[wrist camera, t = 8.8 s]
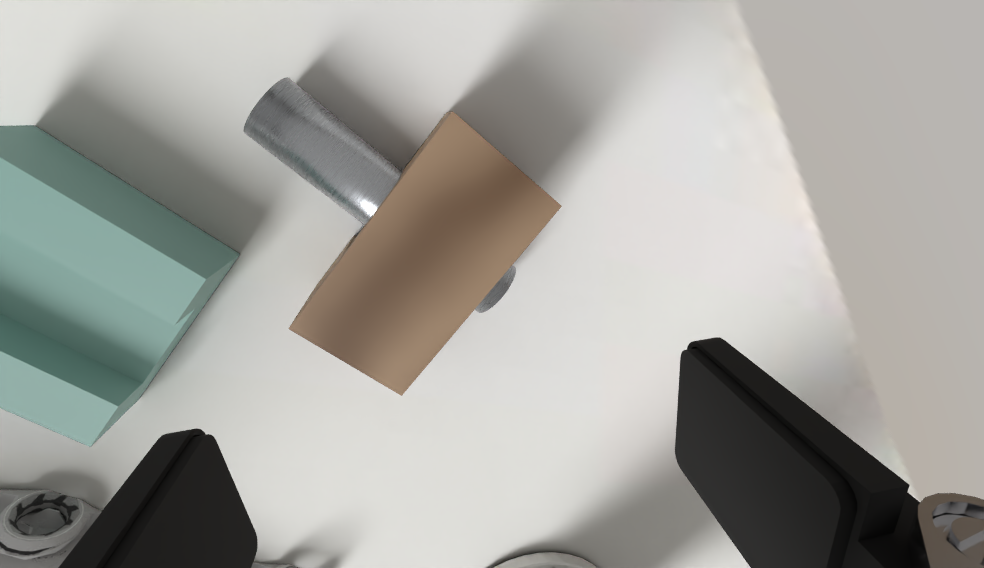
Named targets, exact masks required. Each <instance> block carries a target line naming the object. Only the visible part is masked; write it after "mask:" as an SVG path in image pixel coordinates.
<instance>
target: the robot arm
mask: <svg viewBox="0 0 984 568" xmlns="http://www.w3.org/2000/svg"><path fill="white" fill-rule="evenodd" d="M675 455H676V459H677V462H678V464H679V467H680V468H681V470H682V471H683V473H684V474H685V476H686V477H687V478H688V480H689V481H690V483H691V484H692V486H693V487H694V488H695V490H696V491H697V493H698V494H699V495H700V497H701V498H702V500H703V501H704V502H705V504H706V505H707V507H708V508H709V509H710V511H711V512H712V514H713V515H714V516H715V518H716V519H717V521H718V522H719V524H720V525H721V526H722V528H723V529H724V531H725V532H726V533H727V535H728V536H729V538H730V539H731V540H732V542H733V543H734V545H735V546H736V547H737V549H738V550H739V552H740V553H741V554H742V556H743V557H744V559H745V560H746V562H747V563H748V564H749V566H750V567H751V568H984V500H983V499H980V498H976V497H972V496H967V495H961V494H956V493H938V494H934V495H931V496H928V497H925V498H924V499H923V500H922V501H921V503H920V502H919V501H917V500H916V499H915V498H914V497H912V496H911V495H910V494H909V493H907V491H908V488H909V484H908V483H906V482H905V481H904V480H902V479H901V478H900V477H899V476H897V475H896V474H895V473H893V472H892V471H891V470H890V469H888V468H887V467H886V466H885V465H883V464H882V463H881V462H879V461H878V460H877V459H876V458H874V457H873V456H872V455H870V454H869V453H868V452H867V451H865V450H864V449H863V448H862V447H860V446H859V445H858V444H856V443H855V442H854V441H853V440H851V439H850V438H849V437H847V436H846V435H845V434H844V433H842V432H841V431H840V430H838V429H837V428H836V427H835V426H833V425H832V424H831V423H830V422H828V421H827V420H826V419H824V418H823V417H822V416H821V415H819V414H818V413H817V412H815V411H814V410H813V409H812V408H810V407H809V406H808V405H807V404H805V403H804V402H803V401H801V400H800V399H799V398H798V397H796V396H795V395H794V394H792V393H791V392H790V391H789V390H787V389H786V388H785V387H784V386H782V385H781V384H780V383H778V382H777V381H776V380H775V379H773V378H772V377H771V376H769V375H768V374H767V373H766V372H764V371H763V370H762V369H761V368H759V367H758V366H757V365H755V364H754V363H753V362H752V361H750V360H749V359H748V358H746V357H745V356H744V355H743V354H741V353H740V352H739V351H738V350H736V349H735V348H734V347H732V346H731V345H730V344H729V343H727V342H726V341H725V340H723V339H721V338H711V339H705V340H699V341H693V342H691V343H690V344H689V345H688V348H687V350H684V351H683V352H682V354H681V360H680V376H679V393H678V410H677V426H676V443H675ZM256 552H257V536H256V532H255V530H254V528H253V525H252V523H251V521H250V518H249V516H248V514H247V511H246V509H245V507H244V504H243V502H242V500H241V497H240V495H239V493H238V491H237V488H236V486H235V484H234V481H233V479H232V477H231V474H230V472H229V470H228V467H227V465H226V463H225V460H224V458H223V456H222V453H221V451H220V449H219V446H218V444H217V442H216V440H215V438H214V437H213V436H212V435H209V434H208V435H206V434H205V433H204V432H203V431H202V430H201V429H191V430H186V431H180V432H174V433H169V434H165V435H162V436H161V437H160V438H159V439H158V440H157V442H156V443H155V444H154V445H153V447H152V448H151V449H150V451H149V452H148V453H147V454H146V456H145V457H144V458H143V460H142V461H141V462H140V463H139V465H138V466H137V467H136V468H135V470H134V471H133V472H132V474H131V475H130V476H129V477H128V479H127V480H126V481H125V483H124V484H123V485H122V486H121V488H120V489H119V490H118V492H117V493H116V494H115V495H114V497H113V498H112V499H111V501H110V502H109V503H108V504H107V506H106V507H105V508H104V510H103V511H102V512H101V513H100V515H99V516H98V517H97V519H96V520H95V521H94V522H93V524H92V525H91V526H90V528H89V529H88V530H87V531H86V533H85V534H84V535H83V537H82V538H81V539H80V540H79V542H78V543H77V544H76V546H75V547H74V548H73V549H72V551H71V552H70V553H69V555H68V556H67V557H66V558H65V560H64V561H63V562H62V564H61V565H60V566H59V567H58V568H251V567H252V564H253V561H254V559H255V556H256ZM493 568H597V567H595V566H594V565H593V564H592V563H590V562H588V561H586V560H584V559H582V558H580V557H576V556H573V555H570V554H564V553H555V552H548V553H535V554H529V555H523V556H520V557H517V558H514V559H511V560H508V561H506V562H504V563H502V564H499V565H497V566H495V567H493Z"/></svg>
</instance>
